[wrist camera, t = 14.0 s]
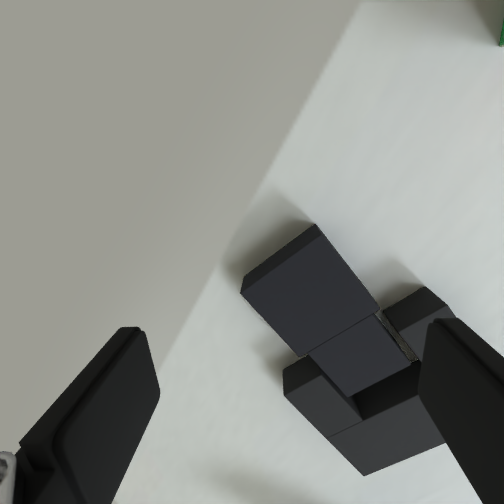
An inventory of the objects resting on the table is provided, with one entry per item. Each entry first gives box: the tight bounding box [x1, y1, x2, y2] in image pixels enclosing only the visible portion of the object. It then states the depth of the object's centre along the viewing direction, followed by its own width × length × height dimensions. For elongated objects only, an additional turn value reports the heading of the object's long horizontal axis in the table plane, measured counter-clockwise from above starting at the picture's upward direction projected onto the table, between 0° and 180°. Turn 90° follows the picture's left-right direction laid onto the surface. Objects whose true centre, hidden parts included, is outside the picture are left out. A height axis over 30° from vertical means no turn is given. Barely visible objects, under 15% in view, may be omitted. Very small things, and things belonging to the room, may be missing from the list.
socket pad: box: [283, 287, 456, 476], centre depth 23 cm, size 12×14×3 cm
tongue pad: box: [240, 224, 411, 397], centre depth 21 cm, size 12×7×3 cm, turn 40°
